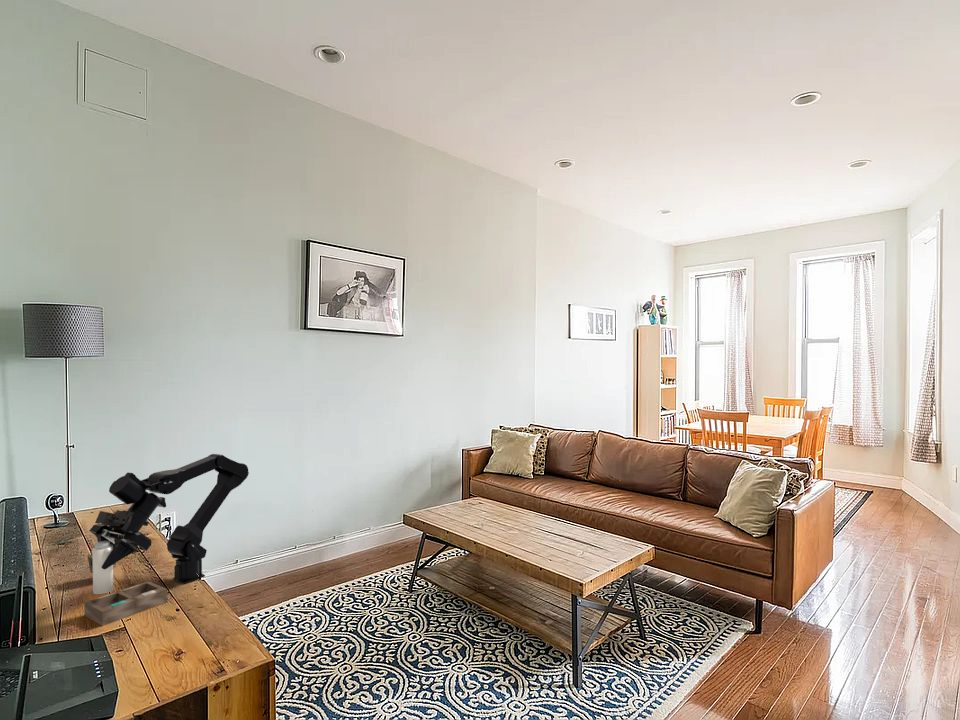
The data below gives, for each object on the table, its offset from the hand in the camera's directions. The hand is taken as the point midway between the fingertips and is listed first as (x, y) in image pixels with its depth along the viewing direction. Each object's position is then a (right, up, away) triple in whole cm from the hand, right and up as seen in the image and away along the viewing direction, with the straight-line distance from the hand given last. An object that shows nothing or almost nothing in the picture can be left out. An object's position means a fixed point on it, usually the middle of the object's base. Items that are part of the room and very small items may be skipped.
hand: (97, 567), depth 143 cm
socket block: (+5, -12, +4) cm, 14 cm away
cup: (-15, -13, +24) cm, 31 cm away
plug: (+1, -7, +1) cm, 7 cm away
